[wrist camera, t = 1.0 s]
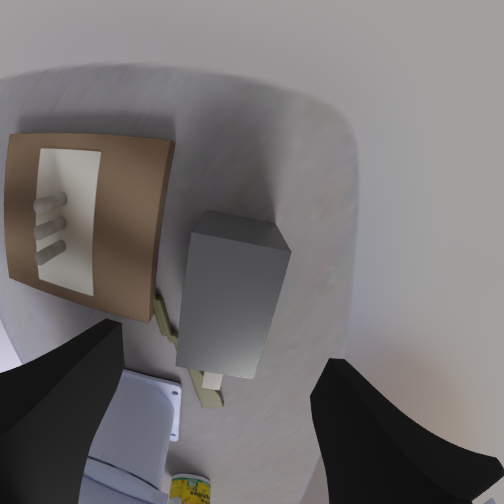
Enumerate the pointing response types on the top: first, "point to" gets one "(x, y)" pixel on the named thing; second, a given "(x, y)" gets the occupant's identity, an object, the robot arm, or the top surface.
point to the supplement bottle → (189, 489)
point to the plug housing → (229, 295)
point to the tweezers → (205, 395)
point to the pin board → (87, 217)
